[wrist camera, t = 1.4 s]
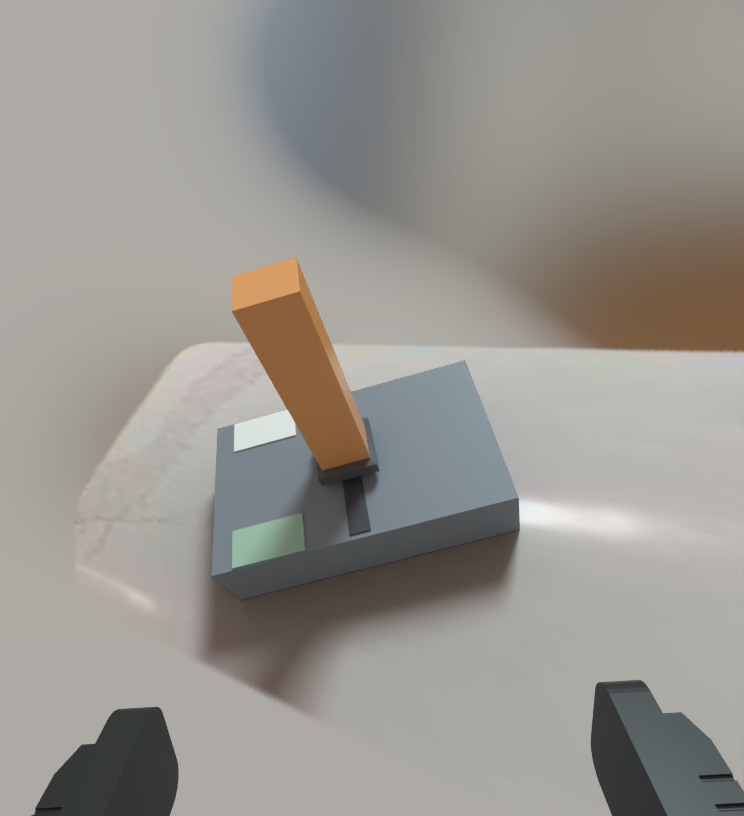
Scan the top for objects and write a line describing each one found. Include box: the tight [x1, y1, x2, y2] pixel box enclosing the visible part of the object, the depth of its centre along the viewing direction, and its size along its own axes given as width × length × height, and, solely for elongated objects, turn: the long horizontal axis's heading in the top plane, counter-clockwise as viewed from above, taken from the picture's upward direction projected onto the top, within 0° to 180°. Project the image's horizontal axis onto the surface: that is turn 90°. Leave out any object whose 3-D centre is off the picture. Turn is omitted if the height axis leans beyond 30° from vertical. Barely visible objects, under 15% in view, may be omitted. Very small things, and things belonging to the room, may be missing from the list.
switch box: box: [211, 360, 520, 600], centre depth 35 cm, size 11×18×4 cm, turn 99°
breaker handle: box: [232, 257, 380, 486], centre depth 28 cm, size 4×4×14 cm
